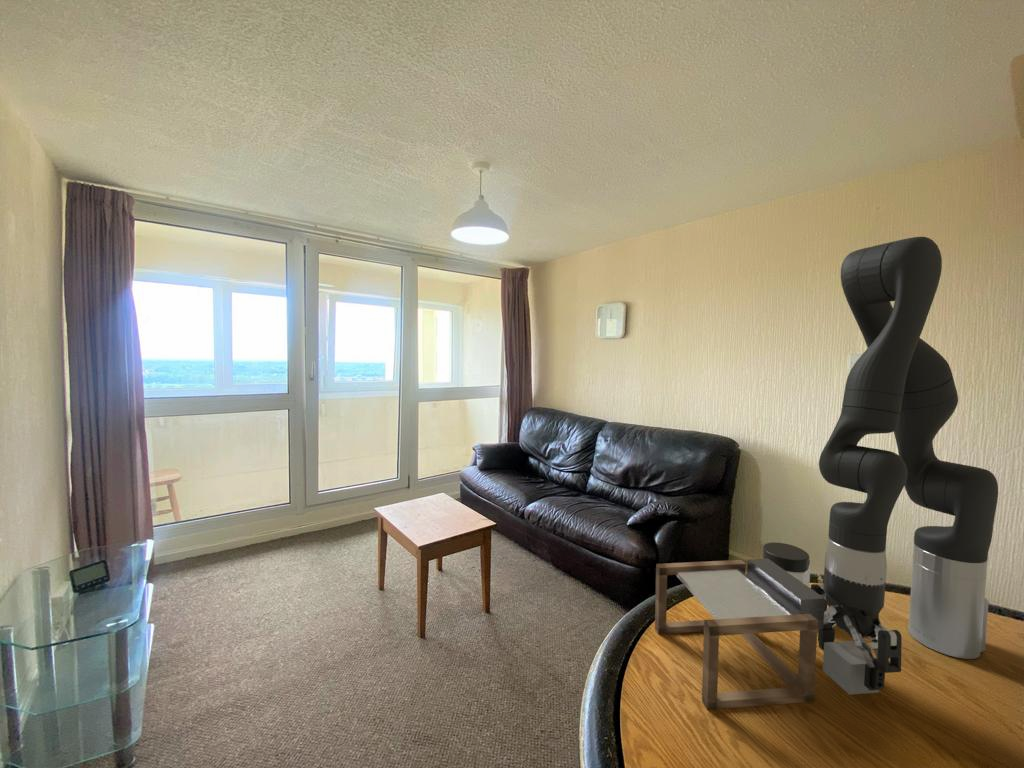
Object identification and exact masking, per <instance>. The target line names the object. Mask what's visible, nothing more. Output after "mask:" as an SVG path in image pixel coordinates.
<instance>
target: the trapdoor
mask: <svg viewBox="0 0 1024 768" xmlns="http://www.w3.org/2000/svg"><path fill="white" fill-rule="evenodd" d="M746 570H747V573H746V572H745V573H744V572H742V571H741V570H740V569H739V568H736V569H733V570H713V571H693V572H677V575H676V577H677V579H679V581H680V582H681V583H682V584H683V585H684V586H685V587H686V589H687V590H688V591H689V592H690V593H691V594H692V595H693V596H694V598H696V600H697V601H698V602H699V603H700V604H701V605H702V606H703V608H704V609H705V610H706V611H707V612H708V613H709V614H710V615H711V616H712V617H713V619H730V618H746V617H763V616H780V615H797V614H811V615H812V616H813V617H815V618H816V619H817V620H818V626H817V630H818V629H823V627H824V607H825V598H824V597H822V596H821V595H819V594H818V593H816V592H815V591H814V590H812V589H811V587H810V586H809V587H808V586H806V585H805V584H804V583H802V582H801V581H799V580H798V579H796V578H795V577H794V576H792V575H791V574H789V573H788V572H786V571H785V570H784V569H782V568H781V567H779V566H778V565H776V564H775V563H774V562H772V561H771V560H769V559H768V558H767V559H763V558H751V559H749V558H748V559H747V568H746Z"/></svg>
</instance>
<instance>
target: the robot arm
mask: <svg viewBox="0 0 1024 768" xmlns="http://www.w3.org/2000/svg"><path fill="white" fill-rule="evenodd" d="M942 260H943V257H942V254H941V251H940V248H939V246H938V245H937V243H936V242H935V241H934V240H933V239H932V238H929V237H926V236H914V237H907V238H904V239H898V240H895V241H889V242H887V243H886V242H885V243H881V244H876V245H873V246H867V247H864V248H860V249H857V250H854V251H851V252H849V253H848V254H846V256H845V258H844V259H843V261H842V263H841V266H840V283H841V284H840V285H841V288H842V291H843V294H844V296H845V299H846V301H847V304H848V307H849V309H850V310H851V313H852V314H853V317H854V319H855V321H856V324H857V326H858V328H859V330H860V332H861V335H862V337H863V339H864V341H865V342H864V343H865V345H866V347H867V349H866V350H865V351H863V353H862V354H861V356H859V358H858V359H857V360H856V361H855V363H854V364H853V366H852V367H851V369H850V370H849V373H848V375H847V379H846V381H845V385H844V391H843V398H842V407H841V412H840V415H839V418H838V420H837V422H836V424H835V426H834V429H833V430H832V433H831V435H830V437H829V438H828V440H827V442H826V444H825V445H824V447H823V449H822V451H821V453H820V456H819V459H818V468H819V469H818V470H819V472H820V475H821V476H822V479H824V480H825V481H826V482H827V483H828V484H831V485H833V486H836V487H840V488H843V489H844V488H845V489H848V490H852V491H856V492H861V493H863V494H866V499H865V501H864V502H852V501H839V502H838V501H837V502H835V503H834V504H833V505H832V506H831V507H830V511H829V520H828V521H829V523H828V538H827V543H826V547H825V552H824V554H825V555H824V556H825V557H824V569H823V570H824V571H823V583H816V584H815V583H813V584H812V583H811V585H810V588H811V589H812V590H814V591H815V592H816V593H818V594H819V595H821V596H822V597H824V598H825V607H824V627H823V629H817V644H818V648H819V649H821V650H822V651H823V652H824V643H826V642H835V639H836V635H835V634H836V629H835V628H833V627H835V626H837V627H838V628H839V629H841V630H843V631H844V632H846V633H847V635H849V636H850V638H852V639H853V642H854V643H855V644H856V646H857V648H858V649H860V650H861V651H862V653H863V655H864V658H865V660H866V662H867V664H865V678H864V686H865V687H867V688H868V689H869V690H879V691H880V690H883V689H884V687H885V679H886V673H887V674H888V673H889V674H890V673H901V672H902V633H901V632H900V631H899V630H897V629H889V628H887V627H885V626H884V625H882V623H881V621H880V617H879V616H880V613H881V611H882V610H883V608H884V607H885V596H886V594H885V592H886V581H887V570H888V569H887V567H888V565H887V563H888V562H887V556H886V551H887V550H886V549H887V534H888V526H889V521H890V518H891V515H892V512H893V510H894V508H895V505H896V503H897V501H898V498H899V497H900V496H901V493H902V491H903V489H905V492H906V494H907V496H908V497H909V499H910V500H911V502H913V503H914V504H915V505H917V506H919V507H921V508H922V507H923V508H925V509H928V510H932V511H935V512H937V513H939V512H940V513H943V514H946V515H950V516H954V521H953V524H952V525H950V526H944V525H943V526H941V525H926V526H925V525H924V526H920V527H918V528H916V529H915V531H914V535H913V551H912V552H913V553H912V571H911V582H910V597H909V598H910V599H909V610H908V611H909V614H908V627H907V628H908V629H907V630H908V633H909V634H910V636H911V637H912V638H913V639H915V640H916V641H917V642H919V643H920V644H922V645H924V646H925V647H927V648H929V649H931V650H932V651H936V652H938V653H941V654H944V655H946V656H950V657H954V658H958V659H965V660H973V659H978V658H979V657H980V656H981V652H982V653H983V652H985V651H986V642H987V630H988V628H987V627H988V617H989V616H988V615H989V600H988V599H987V598H986V588H987V574H988V573H987V570H988V560H989V559H988V557H989V552H990V548H991V543H992V539H993V532H994V523H995V517H996V512H997V506H998V499H999V484H998V480H997V478H996V476H995V474H993V472H991V471H990V470H988V469H986V468H982V467H978V466H973V465H965V464H961V463H957V462H956V463H955V462H951V461H945V460H941V459H939V458H938V457H937V455H936V453H935V451H934V444H933V443H934V439H935V438H936V435H937V434H938V433H939V431H940V430H941V429H942V428H943V427H944V426H945V424H946V423H947V422H948V420H949V419H950V418H952V415H953V414H954V413H955V411H956V409H957V406H958V403H959V396H958V390H957V386H956V384H955V380H954V376H953V372H952V369H951V366H950V364H949V363H948V361H947V360H946V359H945V357H944V356H943V355H941V354H940V353H939V351H937V350H936V349H935V348H934V347H932V346H931V345H930V344H929V343H928V342H926V341H925V340H924V339H923V338H921V335H922V332H923V330H924V327H925V325H926V322H927V319H928V316H929V313H930V310H931V307H932V305H933V302H934V300H935V296H936V292H937V290H938V287H939V283H940V279H941V277H942V276H941V275H942V268H943V267H942V265H943V261H942ZM891 302H893V305H892V303H891ZM891 433H893V435H894V438H895V443H896V446H897V452H898V453H895V452H894V451H891V450H885V449H881V448H880V449H879V448H873V447H868V446H867V447H866V446H861V445H858V444H859V442H860V441H861V440H862V439H863V438H864V437H865V436H867V435H873V434H874V435H875V434H891ZM867 638H870V639H871V642H866V641H864V639H867ZM871 650H872V651H873V652H874V655H875V657H874V656H873V653H872V651H871Z"/></svg>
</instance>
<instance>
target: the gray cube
mask: <svg viewBox="0 0 1024 768" xmlns="http://www.w3.org/2000/svg"><path fill="white" fill-rule="evenodd" d="M822 658H823V659H822V660H823V661H822V672H824V673H825V674H826V675H827V676H828V677H829V678H830V679H831V680H832V681H834V682H835V684H836V685H838V686H839V687H840V688H841V689H842V690H843V691H844V692H846V693H847V694H848V695H861V694H862V695H863V694H875V693H880V690H869V689H868V688H867V687H865V686H864V678H865V664H867V662H866V660H865V658H864V655H863V653H862V651H861V650H860V649H858V648H857V646H856V644H855V641H854V640H844V641H843V640H842V641H834V642H826V643H824V651H823V657H822Z"/></svg>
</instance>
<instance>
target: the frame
mask: <svg viewBox="0 0 1024 768" xmlns="http://www.w3.org/2000/svg"><path fill="white" fill-rule="evenodd" d="M736 568H739V569H740V570H741V571H742V572H744V573H745V574H746V570H747V568H746V562H744V561H743V560H742V559H733V560H712V561H692V562H691V561H689V562H688V561H687V562H671V563H668V562H667V563H655V602H654V603H655V605H654V606H655V607H654V608H655V609H654V610H655V611H654V612H655V614H654V630H655V631H656V633H657V634H658V635H663V634H664V635H665V634H680V633H681V634H682V633H696V632H697V633H699V632H703V651H702V652H703V653H702V657H703V658H702V681H701V682H702V687H701V688H702V689H701V702H702V704H703V705H704V707H705V709H706V710H709V711H710V710H722V709H733V708H747V707H757V706H770V705H771V706H772V705H785V704H795V703H796V704H798V703H799V704H800V703H809V702H810V703H811V702H815V687H816V686H815V684H816V667H817V663H816V662H817V647H818V646H817V645H818V629H817V626H818V620H817V619H816V618H815V617H813V616H812V615H811V614H797V615H780V616H763V617H746V618H730V619H715V618H713V619H700V620H684V621H682V620H681V621H667V604H668V603H667V598H668V597H667V596H668V592H667V591H668V576H677V572H693V571H713V570H733V569H736ZM798 631H799V645H798V646H799V648H798V649H799V650H798V669H797V674H795V673H794V672H793V670H791V669H790V667H788V666H787V665H786V664H785V662H783V661H782V660H781V659H780V658H779V657H778V656H777V655H776V654H775V653H774V652H773V650H772V649H770V648H769V646H767V645H766V644H765V643H764V642H763V641H762V639H761V638H759V637H758V636H757V634H764V633H766V634H767V633H779V632H781V633H782V632H783V633H784V632H798ZM734 635H735V636H736V635H741V636H742V637H743V639H745V641H747V643H748V644H749V645H750V646H751V647H752V648H753V649H754V650H755V651H756V652H757V654H758V655H760V656H761V657H762V658H763V660H765V662H766V663H767V664H768V665H769V666H770V668H772V669H773V671H775V673H777V674H778V675H779V676H780V678H781V679H782V680H783V681H784V682H785V683H786V684H787V685H788V686H789V687H780V688H779V687H778V688H766V689H765V688H764V689H751V690H741V691H739V690H738V691H737V690H736V691H723V692H718V686H719V685H718V682H719V679H718V678H719V655H720V654H719V648H720V636H734Z"/></svg>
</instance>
